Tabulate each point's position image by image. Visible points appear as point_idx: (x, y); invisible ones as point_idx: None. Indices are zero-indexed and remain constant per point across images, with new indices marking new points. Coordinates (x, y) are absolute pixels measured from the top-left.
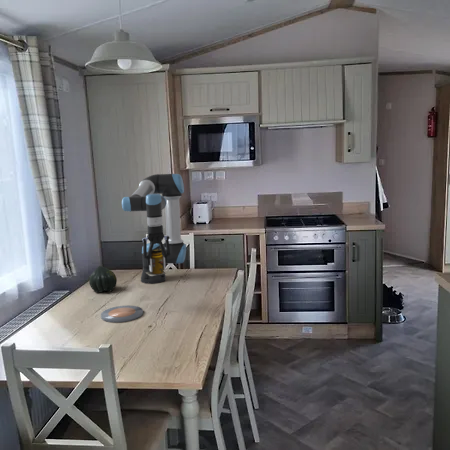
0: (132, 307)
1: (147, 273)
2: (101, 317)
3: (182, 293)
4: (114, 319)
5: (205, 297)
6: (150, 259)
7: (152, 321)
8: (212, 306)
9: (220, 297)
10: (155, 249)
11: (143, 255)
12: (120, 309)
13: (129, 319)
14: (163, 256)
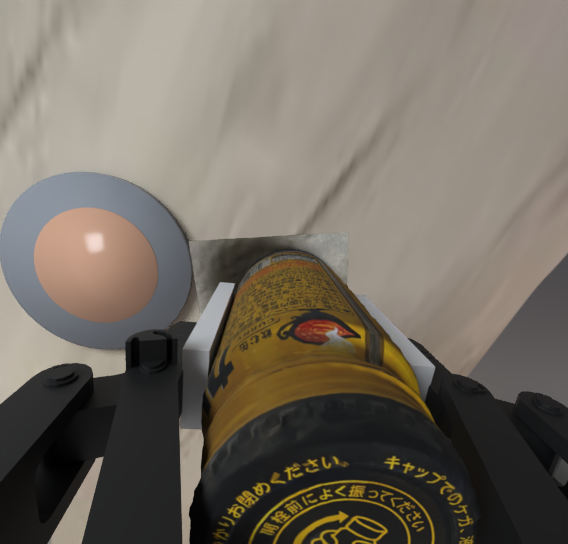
0: (153, 230)
1: (201, 272)
2: (6, 265)
3: (444, 134)
4: (56, 330)
5: (488, 255)
6: (185, 426)
7: None
8: (443, 362)
9: (532, 289)
10: (354, 471)
11: (24, 409)
12: (94, 229)
13: (118, 346)
14: (433, 370)
